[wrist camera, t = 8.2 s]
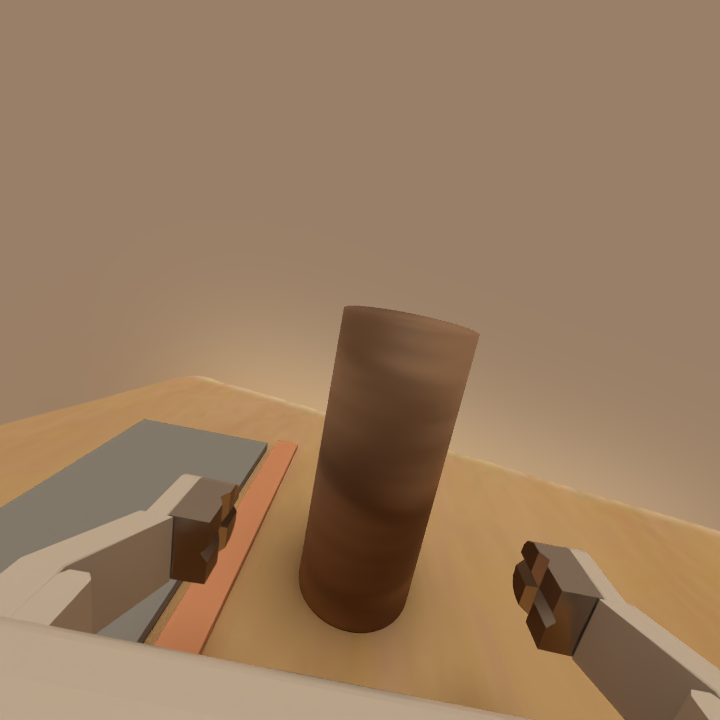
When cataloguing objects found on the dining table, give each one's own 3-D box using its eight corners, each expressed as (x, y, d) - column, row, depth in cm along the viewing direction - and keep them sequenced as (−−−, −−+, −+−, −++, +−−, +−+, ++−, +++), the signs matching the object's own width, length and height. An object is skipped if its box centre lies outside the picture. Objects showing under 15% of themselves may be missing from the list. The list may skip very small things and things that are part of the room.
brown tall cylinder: (403, 544, 18) (460, 322, 15) (412, 643, 13) (500, 346, 10) (310, 526, 18) (349, 301, 15) (285, 618, 13) (336, 315, 10)
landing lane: (297, 447, 25) (298, 441, 25) (32, 1012, 6) (30, 999, 6) (153, 419, 25) (153, 413, 25) (-575, 888, 6) (-591, 872, 6)
